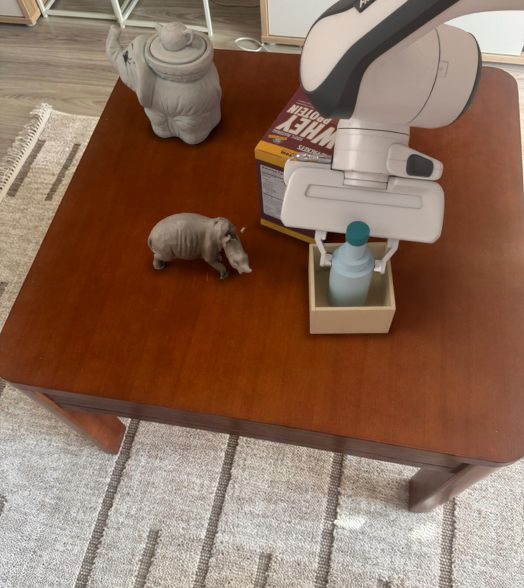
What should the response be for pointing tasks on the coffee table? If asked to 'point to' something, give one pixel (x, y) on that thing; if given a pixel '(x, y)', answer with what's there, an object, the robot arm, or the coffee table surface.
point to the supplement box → (280, 147)
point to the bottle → (351, 268)
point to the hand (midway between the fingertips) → (352, 269)
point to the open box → (350, 319)
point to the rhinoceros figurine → (197, 241)
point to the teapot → (171, 79)
